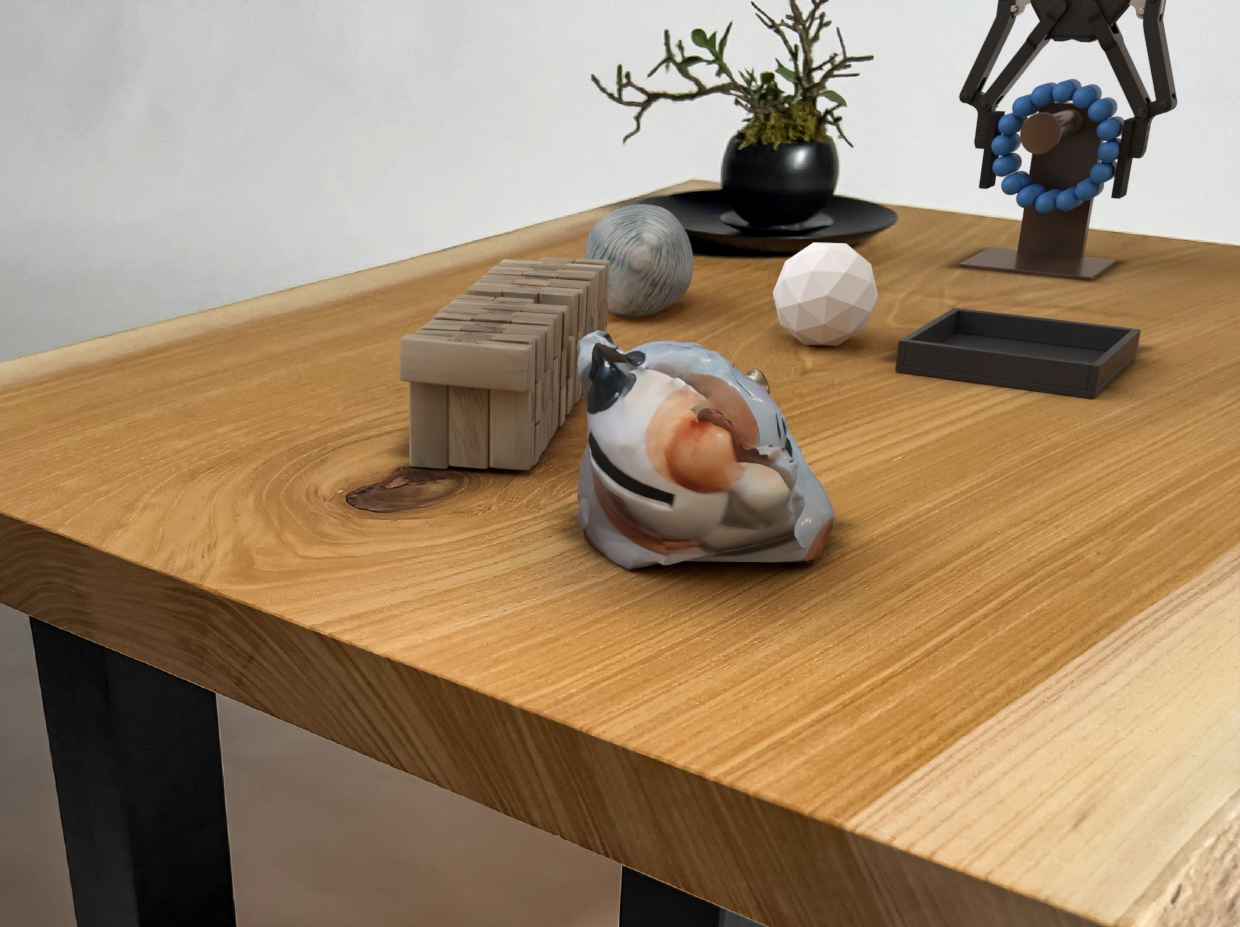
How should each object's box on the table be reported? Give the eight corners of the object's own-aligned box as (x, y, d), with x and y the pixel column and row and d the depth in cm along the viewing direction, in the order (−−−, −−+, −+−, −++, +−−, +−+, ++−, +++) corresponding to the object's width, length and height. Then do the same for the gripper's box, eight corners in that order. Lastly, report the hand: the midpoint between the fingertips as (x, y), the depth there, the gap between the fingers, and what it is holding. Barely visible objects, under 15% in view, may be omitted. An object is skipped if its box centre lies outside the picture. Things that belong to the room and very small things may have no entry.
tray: (1135, 359, 120) (1141, 329, 119) (1093, 399, 111) (1099, 365, 109) (949, 336, 127) (953, 307, 126) (894, 371, 117) (898, 340, 116)
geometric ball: (844, 379, 126) (911, 306, 120) (763, 351, 122) (828, 273, 117) (822, 313, 130) (885, 239, 124) (743, 283, 126) (804, 206, 121)
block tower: (505, 371, 121) (395, 473, 95) (507, 255, 117) (393, 328, 91) (609, 377, 119) (525, 482, 93) (613, 259, 115) (527, 335, 90)
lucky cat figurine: (885, 550, 83) (904, 345, 72) (715, 681, 80) (707, 487, 69) (688, 412, 91) (677, 206, 80) (526, 526, 88) (491, 329, 76)
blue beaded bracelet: (1117, 213, 147) (1140, 81, 141) (1104, 220, 143) (1128, 84, 138) (994, 203, 152) (1012, 75, 147) (980, 210, 148) (998, 79, 143)
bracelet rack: (1114, 272, 151) (1144, 105, 144) (1084, 294, 142) (1115, 116, 135) (987, 259, 156) (1010, 98, 149) (951, 279, 147) (973, 108, 141)
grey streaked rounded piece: (584, 248, 143) (634, 151, 136) (676, 301, 143) (731, 207, 136) (542, 316, 133) (594, 216, 126) (642, 373, 134) (698, 276, 127)
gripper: (943, -78, 139) (912, 187, 149) (1232, -79, 128) (1178, 207, 138) (968, -77, 145) (937, 177, 155) (1248, -78, 134) (1195, 196, 144)
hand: (1051, 191), depth 147 cm, fingers closed on blue beaded bracelet, 11 cm apart
